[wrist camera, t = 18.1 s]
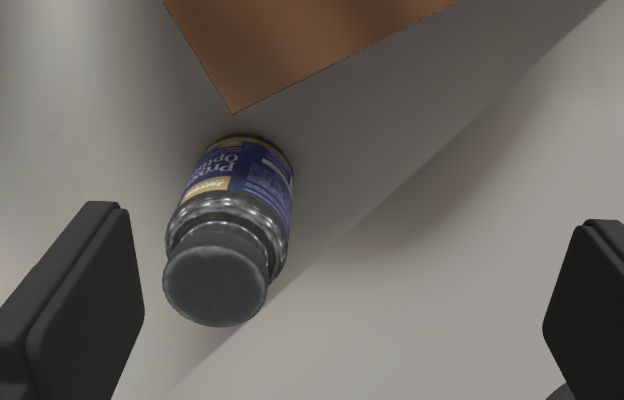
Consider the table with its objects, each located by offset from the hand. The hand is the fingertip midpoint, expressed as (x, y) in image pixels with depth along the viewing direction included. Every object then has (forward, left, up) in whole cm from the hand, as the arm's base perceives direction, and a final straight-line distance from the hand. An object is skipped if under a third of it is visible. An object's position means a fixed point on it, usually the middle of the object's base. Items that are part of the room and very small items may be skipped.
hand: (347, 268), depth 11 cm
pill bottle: (-5, +8, -20) cm, 22 cm away
